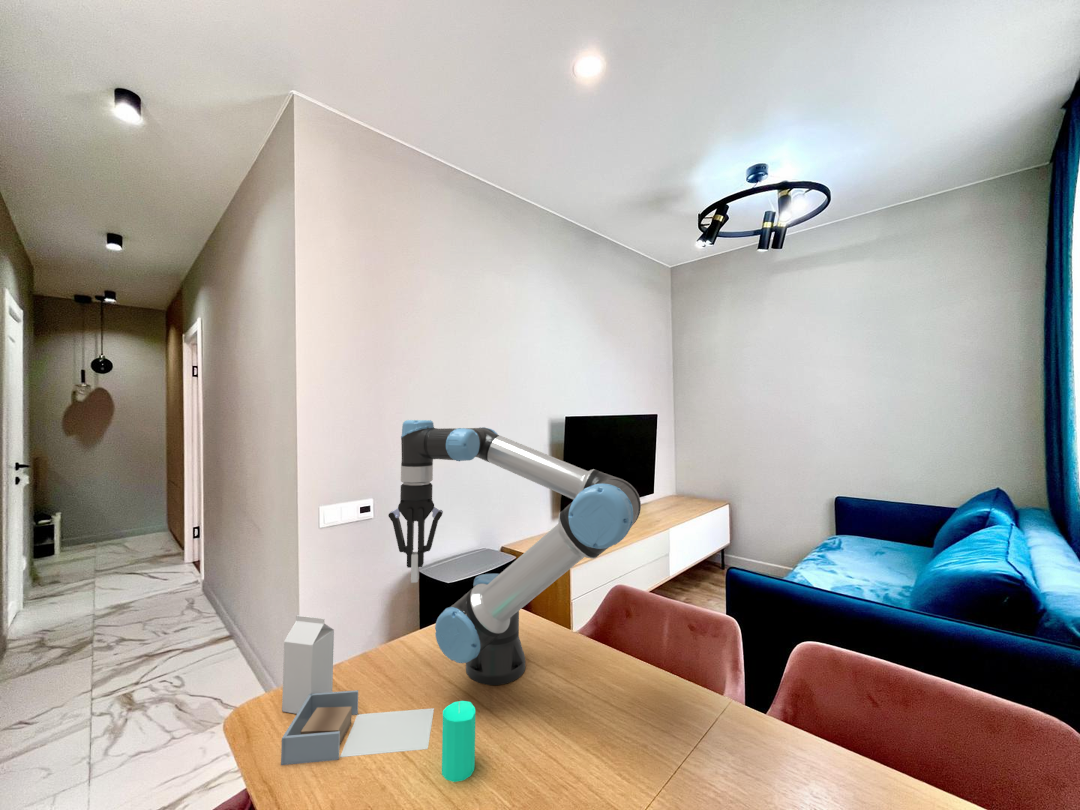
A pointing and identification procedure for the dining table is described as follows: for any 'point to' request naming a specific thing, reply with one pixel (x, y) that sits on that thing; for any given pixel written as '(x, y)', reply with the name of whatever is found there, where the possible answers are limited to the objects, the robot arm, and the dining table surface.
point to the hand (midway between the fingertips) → (414, 580)
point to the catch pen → (315, 744)
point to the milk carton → (307, 662)
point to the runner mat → (389, 732)
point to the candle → (458, 741)
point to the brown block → (329, 721)
